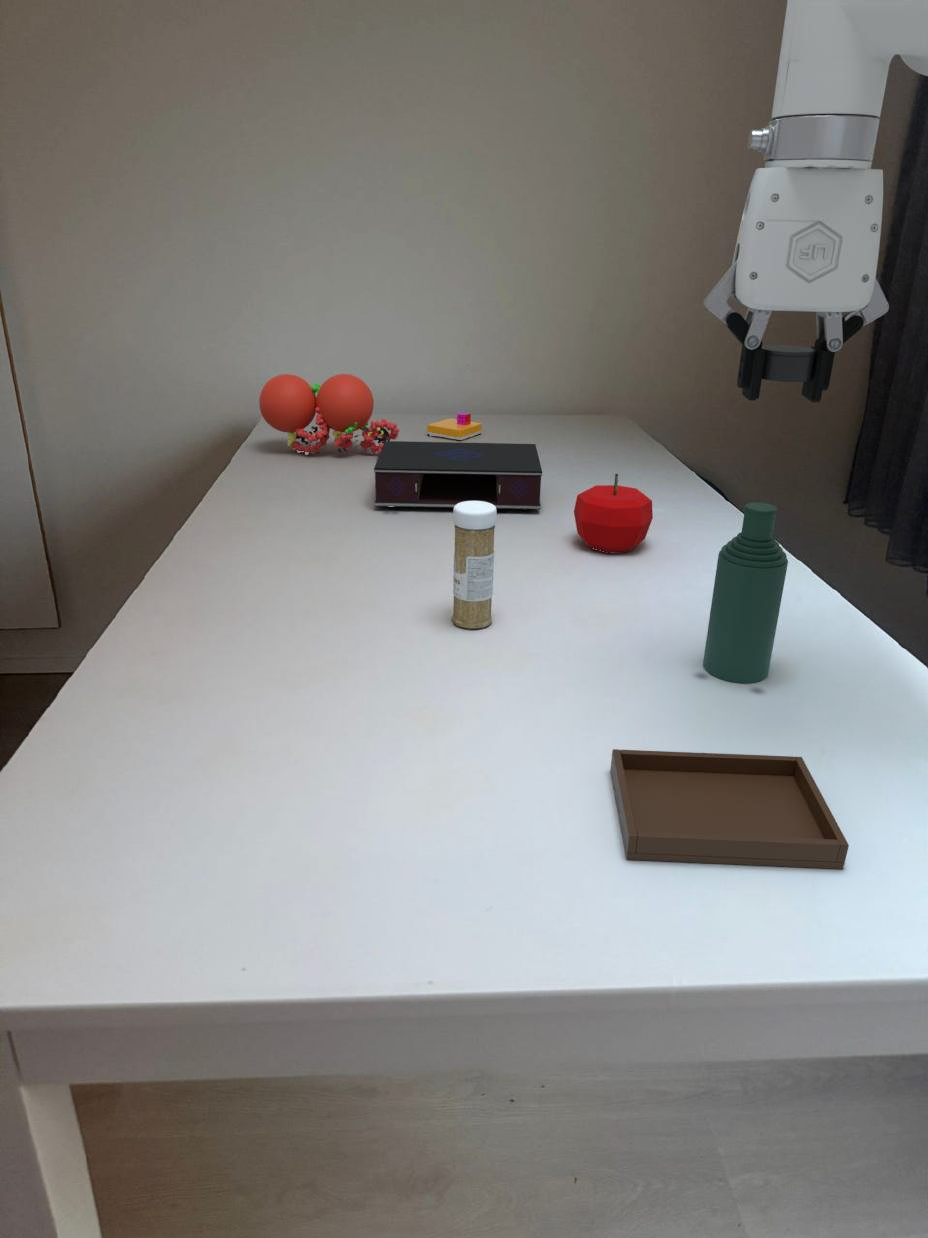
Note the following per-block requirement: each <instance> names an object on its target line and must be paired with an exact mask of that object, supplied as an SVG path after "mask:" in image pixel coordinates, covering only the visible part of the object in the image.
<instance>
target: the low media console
mask: <svg viewBox="0 0 928 1238" xmlns="http://www.w3.org/2000/svg"><path fill="white" fill-rule="evenodd" d="M383 442H384V441H383ZM373 473H374V483H375V485H374V486H375V500H374V507H387V506H395V507H399V508H400V507H404V508H405V507H407V508H412V507H413V508H452V509H454V506H455V505H456V504H458V503H460V502H465V501H483V502H488V503H491V504H493V505H494V506H495V507H496V509H503V510H504V509H505V510H507V509H508V510H510V509H511V510H521V509H529V510H541V489H542V488H541V487H542V476H543V469H542V465H541V461H540V457H539V453H538V448H537V445H536V443H511V442H510V443H505V442H504V443H501V442H499V443H498V442H459V441H455V442H453V441H451V442H450V441H449V442H448V441H403V440H402V441H401V440H399V441H398V440H395V441H394V440H390V441H387V440H386V441H385V442H384V444H383V447H382V449H381V452H380V454H378V457H377V460H376V462H375V465H374V467H373Z"/></svg>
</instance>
